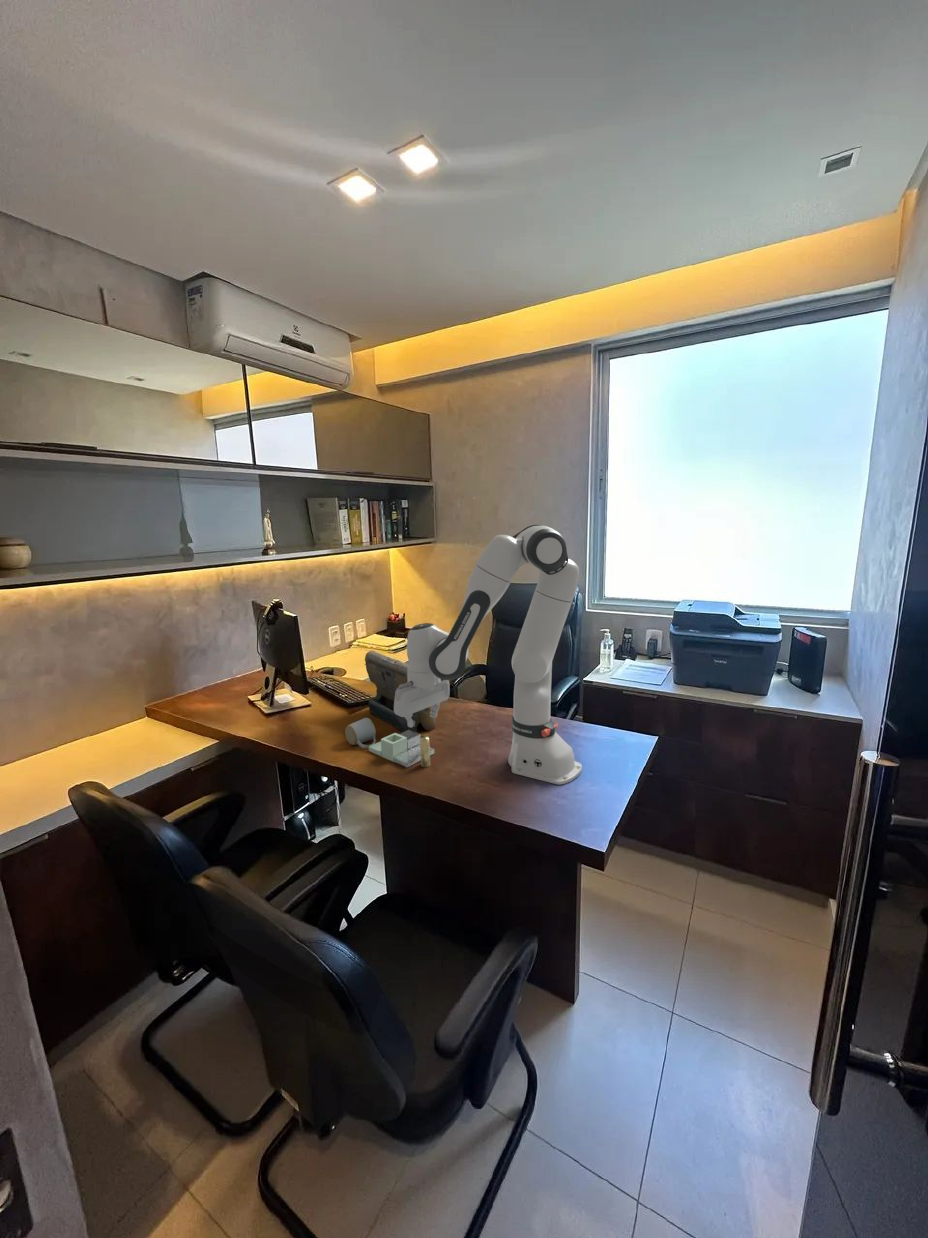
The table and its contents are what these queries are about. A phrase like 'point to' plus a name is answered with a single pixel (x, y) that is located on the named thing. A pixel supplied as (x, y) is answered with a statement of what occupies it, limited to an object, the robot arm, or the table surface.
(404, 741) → the green square socket base
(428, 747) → the hinge pin
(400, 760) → the sliding leaf
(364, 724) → the ceramic mug
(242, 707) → the table surface
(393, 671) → the tablet
